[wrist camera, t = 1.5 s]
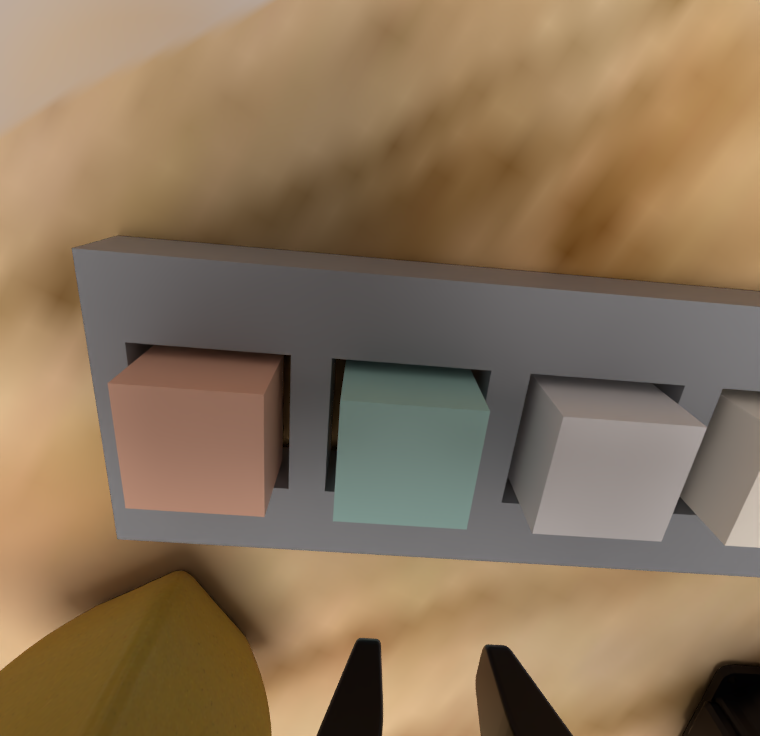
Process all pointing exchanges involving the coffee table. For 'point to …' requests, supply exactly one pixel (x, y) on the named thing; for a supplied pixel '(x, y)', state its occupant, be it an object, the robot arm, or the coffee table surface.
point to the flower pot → (139, 671)
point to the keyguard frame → (417, 347)
